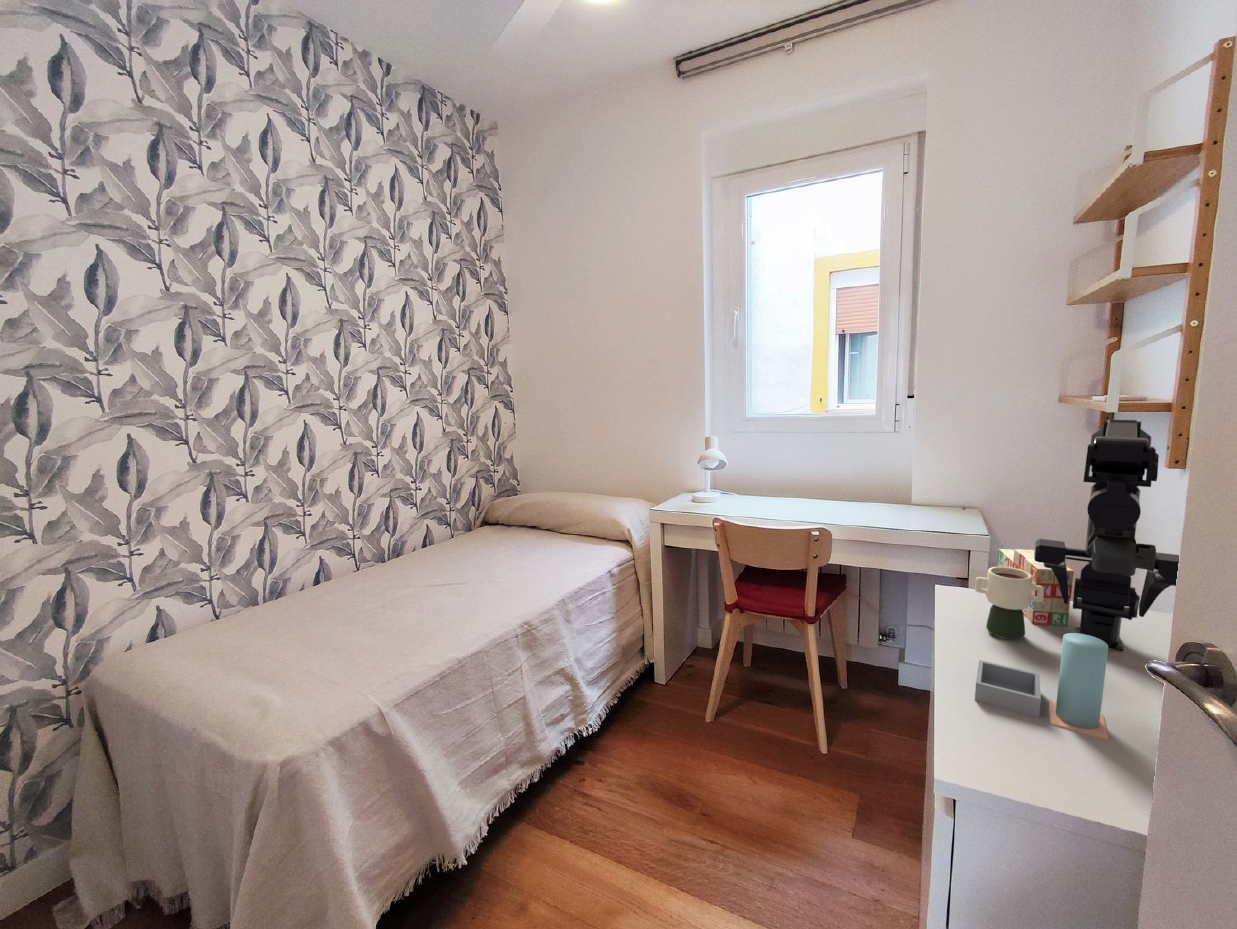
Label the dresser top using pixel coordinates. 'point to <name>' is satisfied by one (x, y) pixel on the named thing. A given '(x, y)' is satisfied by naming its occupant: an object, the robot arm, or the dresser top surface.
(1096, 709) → the teal post
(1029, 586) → the character mug
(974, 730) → the dresser top surface
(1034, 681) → the slate tray
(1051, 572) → the stack of blocks
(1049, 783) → the dresser top surface
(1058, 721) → the terracotta coaster
